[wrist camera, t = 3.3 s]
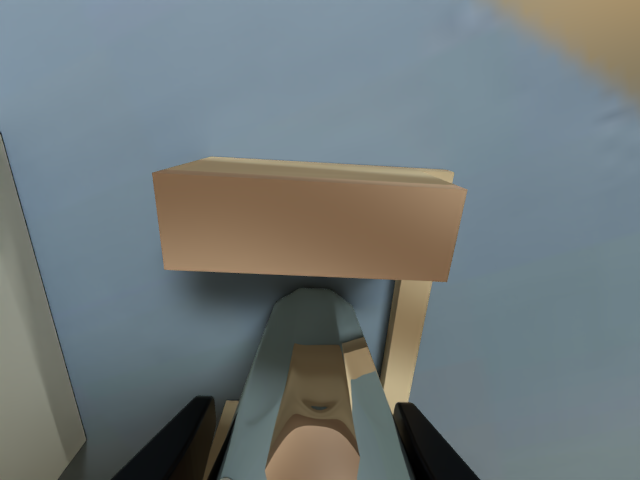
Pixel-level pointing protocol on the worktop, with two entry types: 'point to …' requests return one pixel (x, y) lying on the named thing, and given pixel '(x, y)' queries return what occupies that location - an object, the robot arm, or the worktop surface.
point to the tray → (30, 358)
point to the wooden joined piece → (316, 236)
